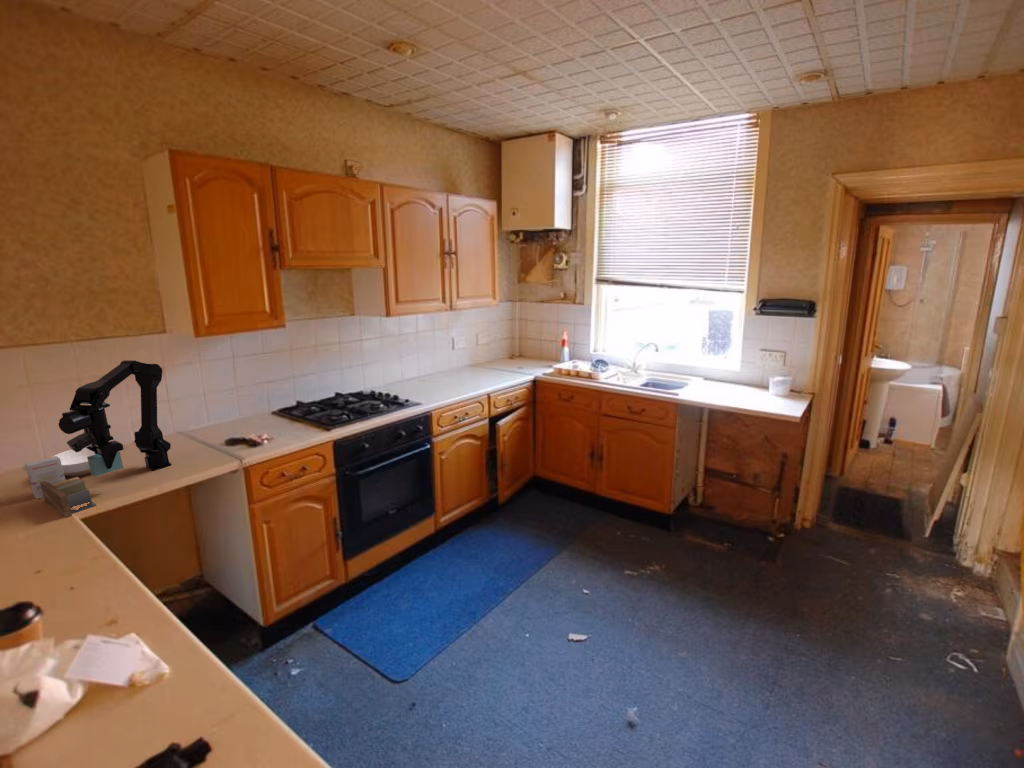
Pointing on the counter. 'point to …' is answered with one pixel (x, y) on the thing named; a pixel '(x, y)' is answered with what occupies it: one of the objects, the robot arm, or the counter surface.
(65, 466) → the bowl
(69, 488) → the row of shelved books
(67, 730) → the counter surface
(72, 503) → the grey metal bookend
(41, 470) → the ink box
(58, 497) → the walnut back wall
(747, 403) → the counter surface
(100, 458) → the grey teal rectangular block
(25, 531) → the counter surface
